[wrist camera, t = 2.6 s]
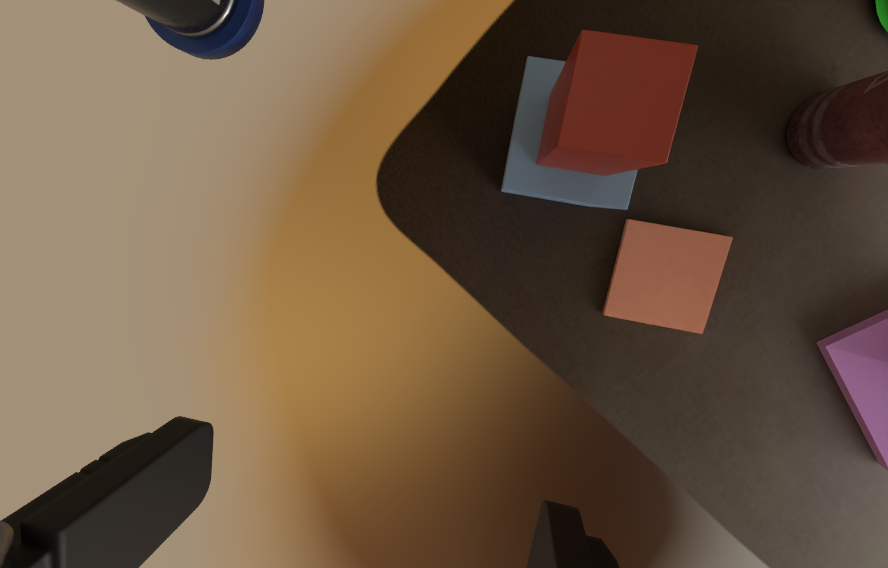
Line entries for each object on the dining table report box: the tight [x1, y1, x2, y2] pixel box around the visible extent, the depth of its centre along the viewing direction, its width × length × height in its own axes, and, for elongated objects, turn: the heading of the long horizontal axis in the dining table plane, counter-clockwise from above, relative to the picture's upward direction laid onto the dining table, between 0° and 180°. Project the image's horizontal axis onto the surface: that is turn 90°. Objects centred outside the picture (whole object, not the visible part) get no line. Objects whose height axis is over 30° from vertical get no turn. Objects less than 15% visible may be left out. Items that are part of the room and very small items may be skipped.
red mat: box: [602, 219, 733, 334], centre depth 39 cm, size 9×9×1 cm
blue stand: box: [501, 56, 637, 210], centre depth 32 cm, size 8×8×12 cm
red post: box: [536, 30, 698, 176], centre depth 22 cm, size 4×4×10 cm
